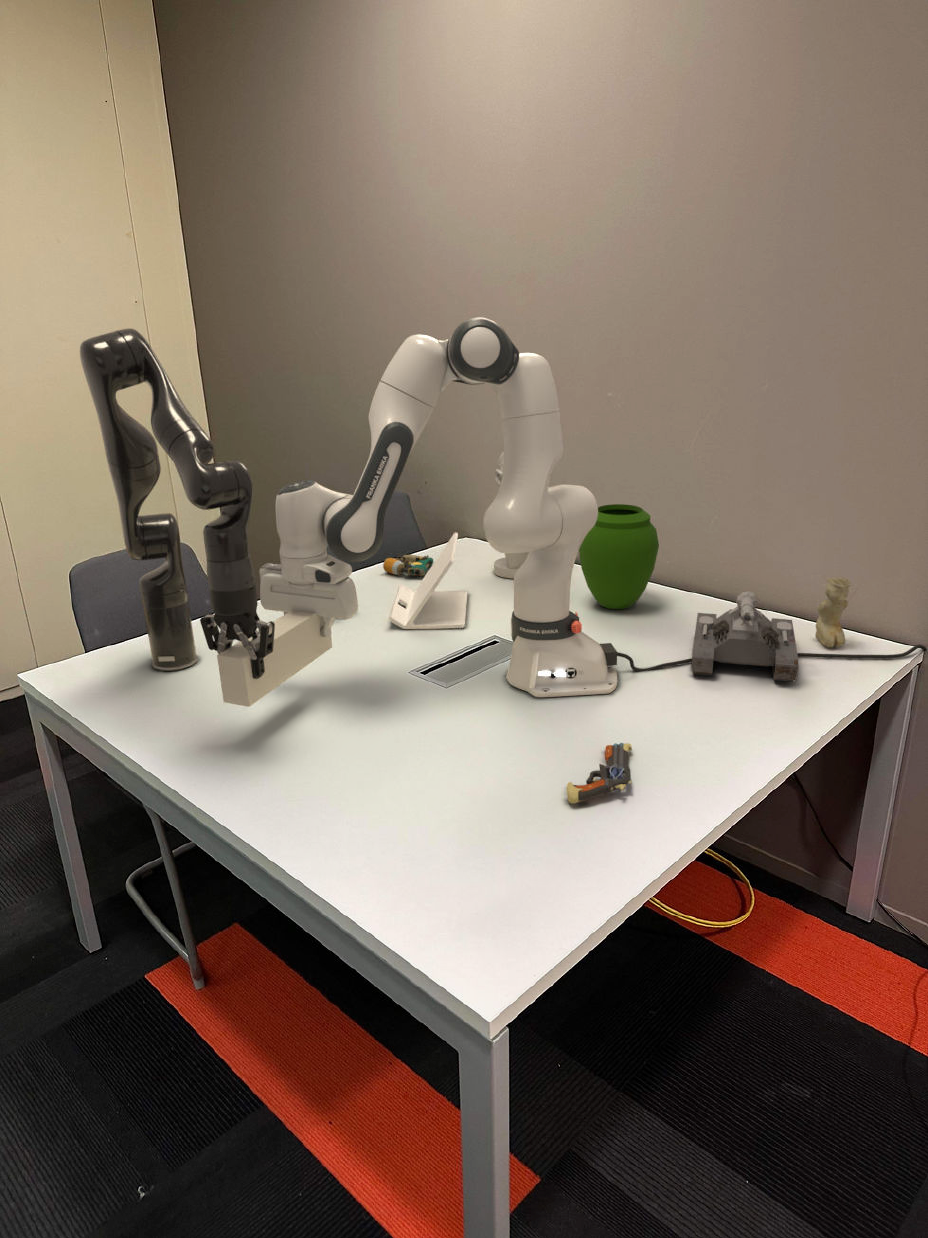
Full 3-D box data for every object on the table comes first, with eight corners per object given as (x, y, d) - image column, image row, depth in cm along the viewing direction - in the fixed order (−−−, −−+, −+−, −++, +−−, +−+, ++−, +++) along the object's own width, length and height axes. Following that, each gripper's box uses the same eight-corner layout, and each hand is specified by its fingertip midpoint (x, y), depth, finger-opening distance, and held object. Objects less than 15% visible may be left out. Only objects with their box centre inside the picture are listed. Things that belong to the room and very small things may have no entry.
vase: (599, 587, 227) (601, 497, 218) (668, 600, 216) (673, 505, 208) (562, 608, 212) (564, 513, 204) (634, 623, 202) (639, 523, 193)
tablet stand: (467, 593, 225) (465, 531, 219) (465, 628, 202) (462, 559, 196) (399, 594, 226) (395, 532, 220) (388, 629, 203) (384, 560, 197)
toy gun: (564, 792, 130) (631, 790, 127) (572, 740, 147) (631, 737, 145) (566, 808, 130) (632, 807, 128) (574, 754, 148) (632, 752, 146)
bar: (309, 644, 172) (305, 602, 169) (332, 647, 170) (328, 605, 167) (223, 702, 148) (216, 655, 145) (249, 707, 146) (243, 659, 143)
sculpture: (821, 649, 184) (830, 583, 179) (808, 637, 191) (816, 573, 185) (848, 649, 184) (858, 582, 179) (834, 636, 191) (843, 572, 185)
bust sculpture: (503, 593, 225) (502, 460, 212) (483, 567, 247) (480, 445, 234) (562, 587, 228) (563, 456, 215) (536, 562, 250) (536, 441, 237)
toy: (696, 633, 195) (700, 570, 190) (789, 640, 189) (796, 576, 184) (690, 678, 172) (695, 608, 167) (795, 688, 167) (804, 616, 161)
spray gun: (402, 561, 257) (447, 568, 251) (374, 574, 242) (420, 581, 236) (402, 547, 255) (447, 554, 250) (374, 559, 241) (421, 566, 235)
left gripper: (182, 585, 142) (196, 678, 148) (254, 593, 137) (266, 689, 142) (210, 572, 148) (223, 661, 154) (280, 579, 143) (291, 672, 149)
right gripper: (249, 566, 164) (257, 633, 169) (342, 576, 156) (348, 646, 161) (268, 557, 169) (275, 623, 174) (359, 566, 162) (364, 634, 167)
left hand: (243, 674), depth 148 cm, fingers closed on bar, 5 cm apart
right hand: (311, 634), depth 168 cm, fingers closed on bar, 5 cm apart
